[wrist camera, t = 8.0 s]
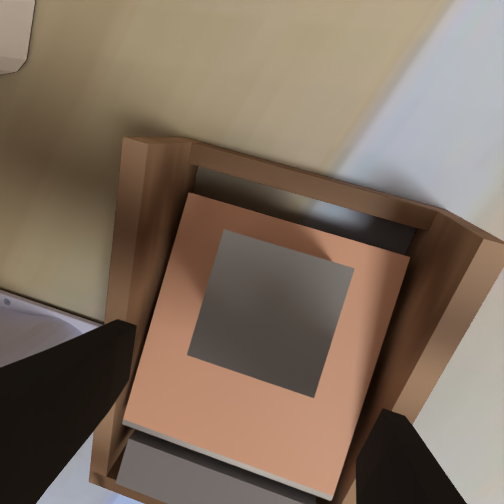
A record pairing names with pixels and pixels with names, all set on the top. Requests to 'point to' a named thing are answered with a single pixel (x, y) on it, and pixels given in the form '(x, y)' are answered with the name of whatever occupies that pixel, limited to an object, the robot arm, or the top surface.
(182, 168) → the trapdoor box
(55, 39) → the top surface
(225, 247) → the grey block
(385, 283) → the trapdoor
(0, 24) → the cup
